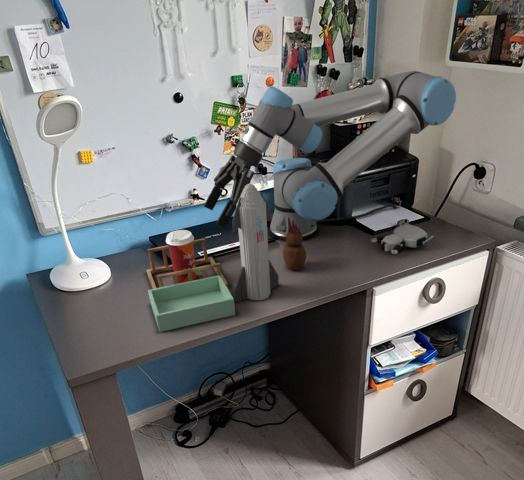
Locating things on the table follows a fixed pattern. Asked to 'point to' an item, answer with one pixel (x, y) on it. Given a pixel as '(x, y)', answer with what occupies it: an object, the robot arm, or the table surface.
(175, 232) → the paper cup
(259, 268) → the rocket model
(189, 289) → the green rectangular tray
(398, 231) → the robot toy
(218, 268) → the drying rack
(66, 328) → the table surface
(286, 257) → the wooden figurine
